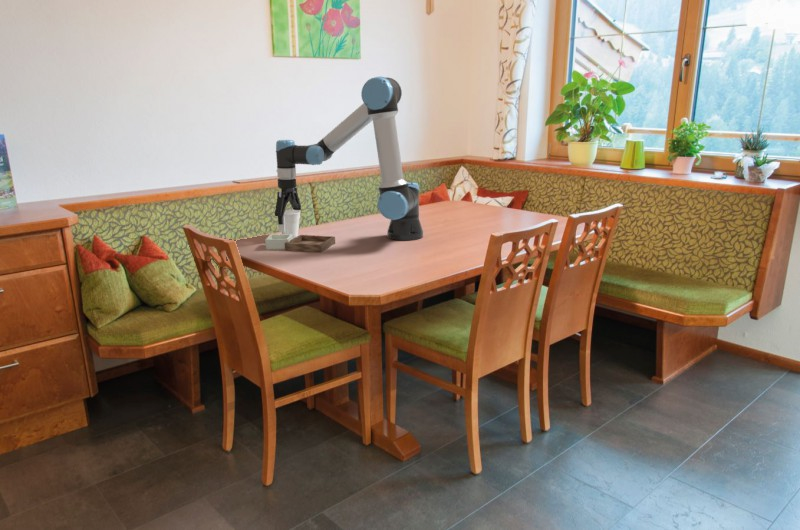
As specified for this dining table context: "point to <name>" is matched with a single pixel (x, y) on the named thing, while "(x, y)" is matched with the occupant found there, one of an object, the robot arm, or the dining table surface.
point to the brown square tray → (310, 243)
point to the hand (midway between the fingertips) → (289, 228)
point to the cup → (291, 222)
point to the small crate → (277, 241)
